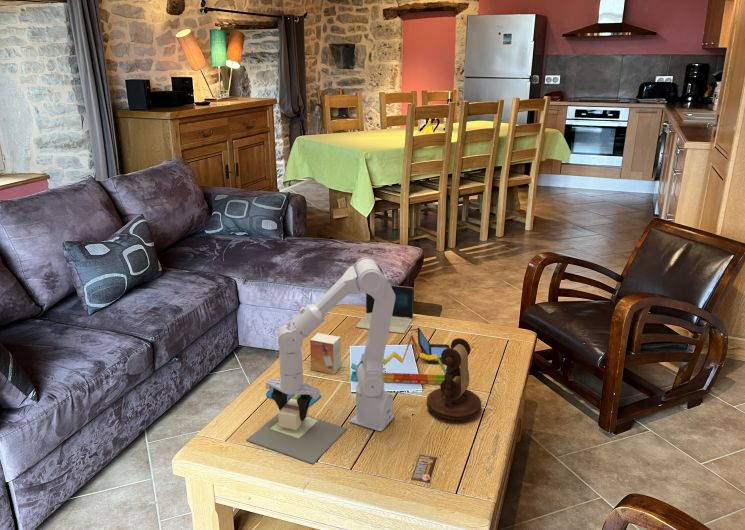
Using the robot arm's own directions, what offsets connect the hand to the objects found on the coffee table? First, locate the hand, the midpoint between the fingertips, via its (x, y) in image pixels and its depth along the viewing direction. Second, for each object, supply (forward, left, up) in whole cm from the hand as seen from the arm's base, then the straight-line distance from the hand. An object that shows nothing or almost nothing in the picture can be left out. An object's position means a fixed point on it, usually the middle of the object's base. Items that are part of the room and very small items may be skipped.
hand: (293, 416), depth 159 cm
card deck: (0, 0, -1) cm, 1 cm away
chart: (-15, -34, -3) cm, 37 cm away
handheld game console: (-17, -54, -3) cm, 56 cm away
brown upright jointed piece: (-34, -27, -3) cm, 44 cm away
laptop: (+8, -68, -3) cm, 68 cm away
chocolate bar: (-37, 0, -3) cm, 37 cm away
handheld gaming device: (+9, -12, -3) cm, 15 cm away
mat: (-3, +3, -3) cm, 5 cm away
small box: (+9, -30, -3) cm, 32 cm away
